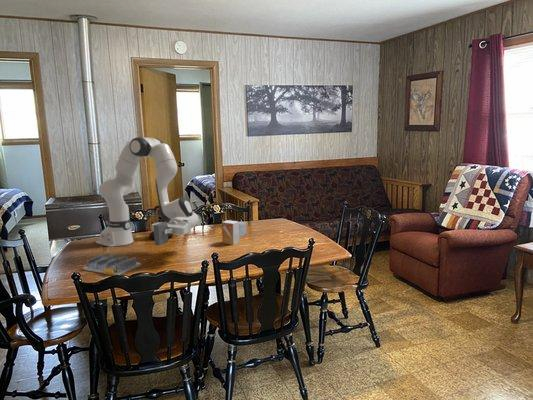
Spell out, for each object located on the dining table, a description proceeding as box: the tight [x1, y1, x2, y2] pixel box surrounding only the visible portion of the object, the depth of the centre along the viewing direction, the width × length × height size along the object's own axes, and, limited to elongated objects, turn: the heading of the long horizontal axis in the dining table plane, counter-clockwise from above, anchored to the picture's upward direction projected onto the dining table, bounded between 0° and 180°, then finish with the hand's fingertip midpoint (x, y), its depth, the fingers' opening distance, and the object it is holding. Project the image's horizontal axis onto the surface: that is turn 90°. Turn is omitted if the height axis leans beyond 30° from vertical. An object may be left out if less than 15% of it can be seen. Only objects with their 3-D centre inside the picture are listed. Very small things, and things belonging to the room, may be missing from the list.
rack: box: [82, 252, 142, 276], centre depth 196 cm, size 22×17×4 cm
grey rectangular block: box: [153, 221, 169, 246], centre depth 199 cm, size 3×7×10 cm, turn 157°
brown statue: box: [148, 205, 174, 239], centre depth 249 cm, size 15×15×20 cm
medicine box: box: [238, 220, 247, 238], centre depth 252 cm, size 8×4×9 cm, turn 141°
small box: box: [221, 219, 240, 246], centre depth 236 cm, size 8×6×13 cm
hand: (160, 231), depth 198 cm, fingers closed on grey rectangular block, 3 cm apart
